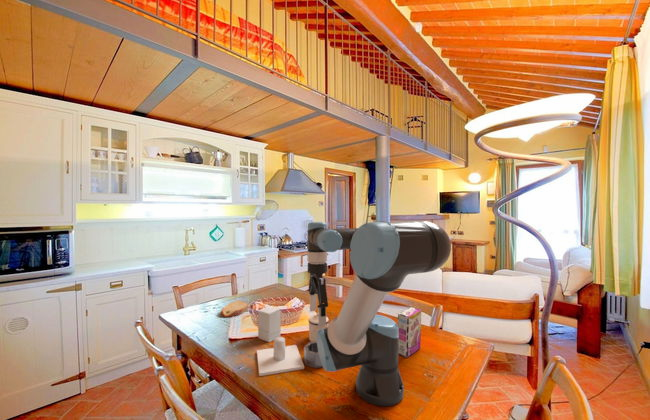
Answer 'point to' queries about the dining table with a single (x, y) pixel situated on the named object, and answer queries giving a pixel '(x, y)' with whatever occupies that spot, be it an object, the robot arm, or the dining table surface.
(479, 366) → the dining table surface
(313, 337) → the teacup with lid
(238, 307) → the slice of bread
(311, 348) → the ring
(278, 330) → the supplement box
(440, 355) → the dining table surface
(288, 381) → the dining table surface
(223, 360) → the dining table surface
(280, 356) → the post
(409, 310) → the candy bar box
